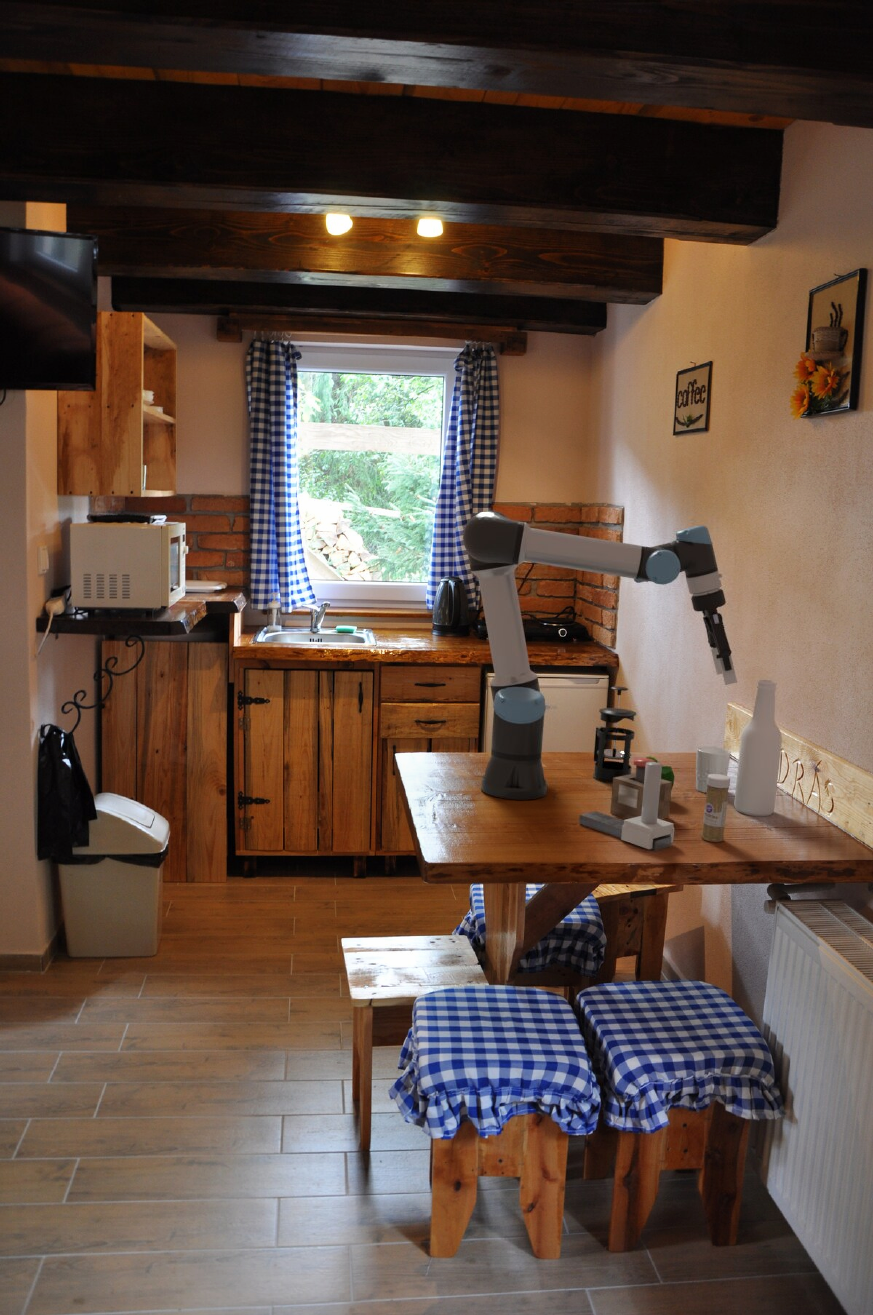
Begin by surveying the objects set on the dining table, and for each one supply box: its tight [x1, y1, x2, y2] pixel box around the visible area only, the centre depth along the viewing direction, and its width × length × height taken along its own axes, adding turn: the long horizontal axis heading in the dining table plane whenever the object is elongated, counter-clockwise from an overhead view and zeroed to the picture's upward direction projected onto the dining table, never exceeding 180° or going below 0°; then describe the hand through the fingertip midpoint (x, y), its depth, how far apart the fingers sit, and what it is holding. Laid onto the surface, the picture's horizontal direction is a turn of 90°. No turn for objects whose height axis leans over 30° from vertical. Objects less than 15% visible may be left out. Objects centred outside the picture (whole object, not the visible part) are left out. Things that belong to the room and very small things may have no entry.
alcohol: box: [733, 679, 783, 817], centre depth 241 cm, size 9×9×30 cm
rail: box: [578, 810, 672, 852], centre depth 221 cm, size 20×5×2 cm, turn 41°
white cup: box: [695, 745, 732, 794], centre depth 259 cm, size 8×8×10 cm
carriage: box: [620, 762, 675, 850], centre depth 215 cm, size 7×8×16 cm
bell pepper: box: [645, 756, 675, 791], centre depth 248 cm, size 8×8×10 cm
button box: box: [609, 772, 673, 820], centre depth 235 cm, size 9×9×8 cm
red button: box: [633, 757, 655, 784], centre depth 234 cm, size 4×4×8 cm
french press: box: [592, 686, 637, 784], centre depth 264 cm, size 12×9×23 cm
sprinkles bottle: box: [701, 774, 731, 843], centre depth 220 cm, size 5×5×14 cm
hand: (726, 678), depth 254 cm, fingers open, 13 cm apart
